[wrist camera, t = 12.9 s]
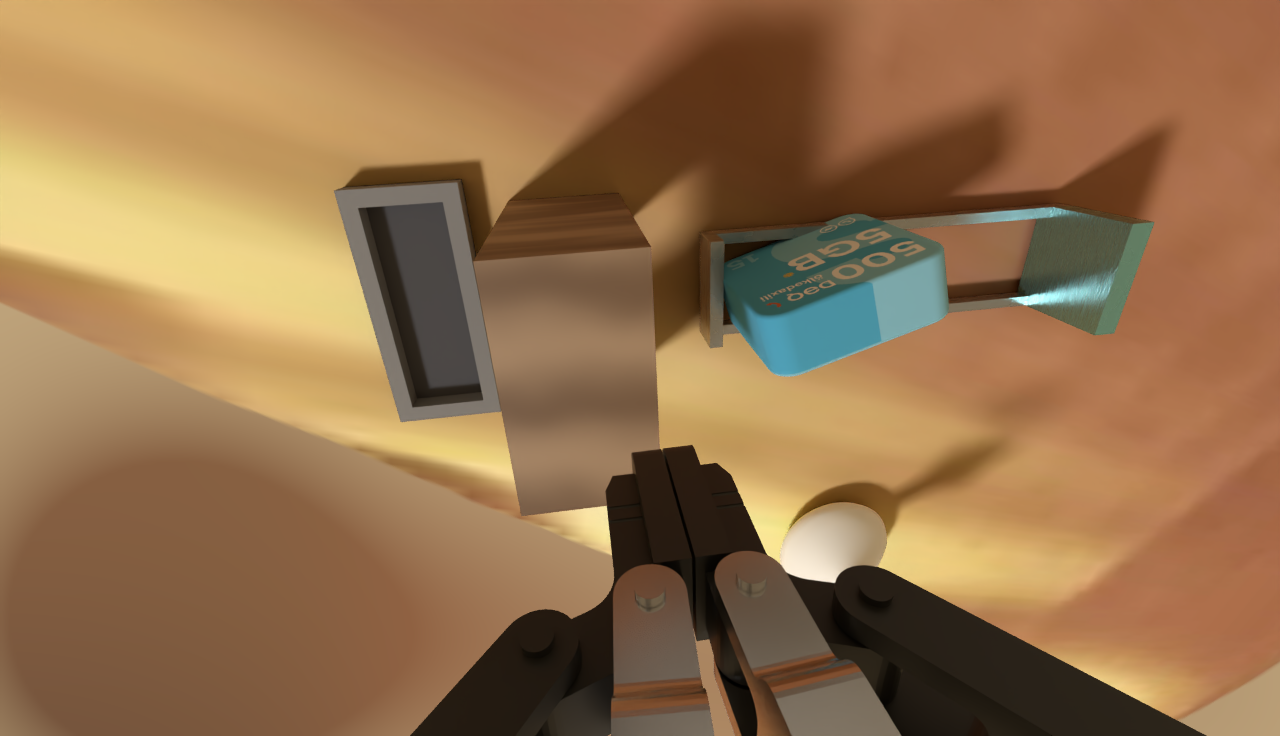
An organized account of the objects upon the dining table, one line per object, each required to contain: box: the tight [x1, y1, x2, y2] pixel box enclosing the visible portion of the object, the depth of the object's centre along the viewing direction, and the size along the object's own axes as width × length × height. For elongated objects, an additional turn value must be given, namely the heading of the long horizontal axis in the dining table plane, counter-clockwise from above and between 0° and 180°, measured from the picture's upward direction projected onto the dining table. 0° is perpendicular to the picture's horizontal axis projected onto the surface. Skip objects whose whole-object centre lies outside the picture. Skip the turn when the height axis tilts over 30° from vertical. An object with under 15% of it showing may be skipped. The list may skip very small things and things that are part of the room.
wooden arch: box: [473, 193, 660, 516], centre depth 35 cm, size 15×8×17 cm, turn 3°
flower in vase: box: [780, 502, 887, 583], centre depth 47 cm, size 13×11×25 cm
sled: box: [700, 203, 1154, 348], centre depth 41 cm, size 8×30×8 cm, turn 93°
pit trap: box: [334, 179, 501, 422], centre depth 41 cm, size 18×8×2 cm, turn 3°
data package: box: [723, 214, 949, 377], centre depth 38 cm, size 12×4×12 cm, turn 110°
